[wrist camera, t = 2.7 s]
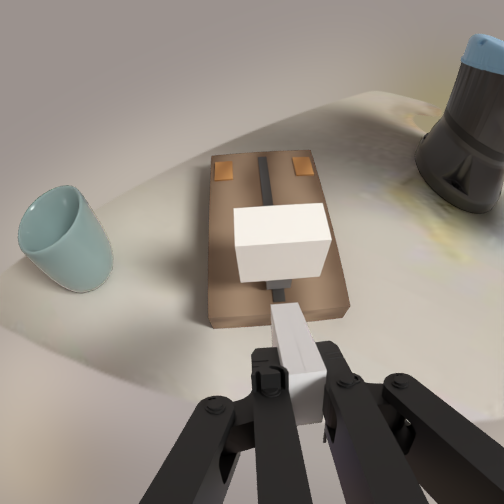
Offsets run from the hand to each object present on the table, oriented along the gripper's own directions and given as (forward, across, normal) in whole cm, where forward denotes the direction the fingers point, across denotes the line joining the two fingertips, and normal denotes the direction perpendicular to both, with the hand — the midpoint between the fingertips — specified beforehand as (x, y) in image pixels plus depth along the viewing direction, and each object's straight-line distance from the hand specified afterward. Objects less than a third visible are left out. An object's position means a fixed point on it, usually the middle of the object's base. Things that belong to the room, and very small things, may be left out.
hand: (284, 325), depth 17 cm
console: (+17, +1, +2) cm, 17 cm away
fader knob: (+10, +1, 0) cm, 10 cm away
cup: (+15, -19, 0) cm, 25 cm away
